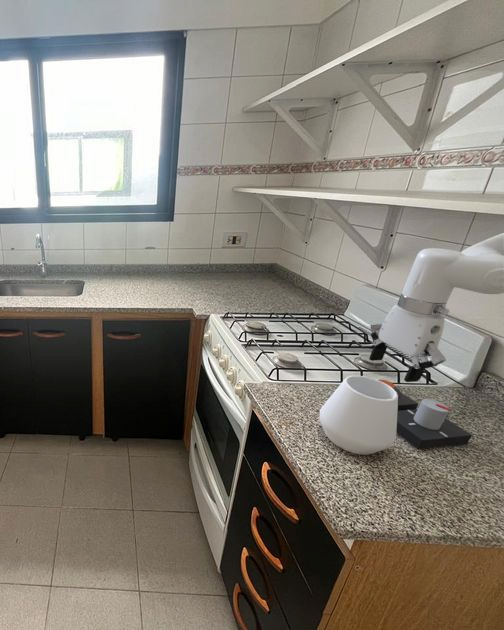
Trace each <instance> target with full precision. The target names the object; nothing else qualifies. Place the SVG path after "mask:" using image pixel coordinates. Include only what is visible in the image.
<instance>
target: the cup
mask: <svg viewBox="0 0 504 630" xmlns="http://www.w3.org/2000/svg"><path fill="white" fill-rule="evenodd" d="M378 380H379V379H376V378H373V377H369V376H364V375H355V374H354V375H349V376H346V378H344V379H343V380H342V382H341V383H340V384H339V385H338V387H337V388H336V389H335V390H334V392H333V393H332V394H331V395H330V396H329V397H328V399H327V400H326V401H325V402H324V404H323V405H322V406H321V407H320V409H319V422H320V424H321V427H322V430H323V432H324V433H325V435H326V437H327V438H328V440H329V441H331V443H333V444H334V445H335V446H336V447H338V448H340V449H342V450H344V451H346V452H349V453H351V454H355V455H362V456H368V455H372V454H375V453H378V452H382V451H384V450H387V449H389V448H390V447H391V446H392V445H393V444H394V443H395V441H396V440H397V433H396V430H397V409H398V395H397V392H396V391H395V390H394V389H393V388H392V387H390V386H388V385H387V384H385V383H383V382H381V381H378Z"/></svg>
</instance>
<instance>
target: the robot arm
mask: <svg viewBox="0 0 504 630" xmlns="http://www.w3.org/2000/svg"><path fill="white" fill-rule="evenodd" d="M454 288H457V289H462V290H466V291H469V292H473V293H478V294H483V295H502V294H504V232H502V233H499V234H497V235H494V236H492V237H489V238H487V239H484V240H482V241H480V242H478V243H475V244H473V245H470V246H469V247H466V248H464V249H463V250H461V251H458V250H453V249H447V248H441V247H440V248H438V247H429V248H424V249H422V250H420V251H419V252H418V253H417V255H416V257H415V259H414V261H413V264H412V267H411V269H410V271H409V274H408V276H407V279H406V281H405V284H404V287H403V289H402V292H401V294H400V296H399V299H398V301H397V302H396V303H395V304H394V305H393V306H392V308H390V310H389V312H388V313H387V315H386V317H385V319H384V321H383V322H382V323H374V324H370V332H371V333H370V336H371V339H372V342H371V344H372V346H373V347H372V350H371V351H370V355H369V358H368V360H370V361H371V362H372V361H382V360H383V359H384V357H385V354H386V352H387V349H388V346H389V347H391V348H393V349H395V350H397V351H398V352H401V353H403V354H405V355H407V356H409V357H410V358H411V362H412V365H411V366H410V365H409V367H408V370H407V372H406V374H405V376H404V379H403V380H404V382H406V383H413V382H414V383H415V382H418V381H420V380H421V378H422V376H423V374H424V373H425V370H426V369H430V368H434V367H437V366H438V365H440V364H443V363H444V362H446V360H447V358H446V356H444V354H443V353H442V352H441V350H440V349H439V348H438V347H439V344H440V341H441V338H442V335H443V332H444V328H445V320H446V317H445V316H446V315H447V314H449V312H450V309H449V308H446V307H447V303H448V301H449V299H450V297H451V295H452V292H453V291H454ZM387 345H388V346H387ZM429 357H431V359H430V360H429Z"/></svg>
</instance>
